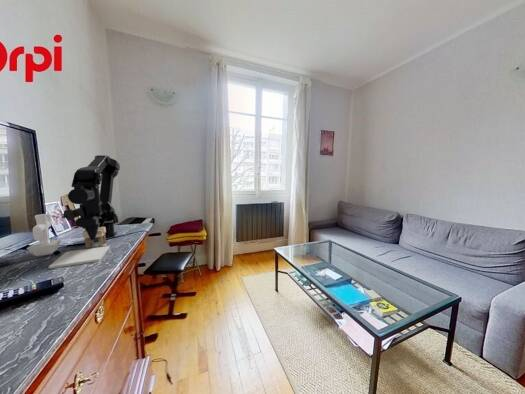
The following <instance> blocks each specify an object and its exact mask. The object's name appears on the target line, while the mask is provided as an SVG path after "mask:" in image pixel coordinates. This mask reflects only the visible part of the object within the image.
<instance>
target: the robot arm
mask: <svg viewBox="0 0 525 394" xmlns="http://www.w3.org/2000/svg"><path fill="white" fill-rule="evenodd" d="M120 169H121V167H120V163H119V162H118V161H117V160H116V159H114V158H111V157H110V156H109V155H102V154H100V155H95V156H94V159H93V160H92V161H91V162H90V163H89V164H88V165H87V166H84V167H80V168H77V169H76V170H75V172H74V174H73V178H72V182H71V187H72V188H73V189H71V190H70V191H69V192H68V194H67V198H68V201H69V202H70V203H72V204H74V205H79V207H78V208H74V209H72V208H68V209H65V210H64V211H63V214H62V218H63V219H66V222H69V221H71V220H73V219H75V218H76V219H75V220H74V227H75V228H78V227H79V228H82V229H84V231H85V230H86V231H87V233H88V235H89V237H90V239H91V240H93V241H94V240H95V239H98V237H96V234H97V231H98V228H99V227H106V233H105V238H106V239H107V238H114V237H115V236H116V235H117V234H118V232H116V231H115V224H118V223H119V217H118V215H117V213H116V211H115V208H114V207H113V206H112V199H113V198H112V197H113V189H114V179H115V178H116V177H117V176H118V175H119V171H120ZM78 217H79V218H78Z"/></svg>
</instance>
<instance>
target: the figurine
mask: <svg viewBox="0 0 525 394" xmlns="http://www.w3.org/2000/svg"><path fill="white" fill-rule="evenodd" d="M34 219H35V222H36V225H35V226H33V227H32V236H33V240H34V241H35V242H34V243H33V244H32V245H30V246H28V247H27V248H26V250H27V251H29V252H30V253H31V254H32V255H34V256H35V257H38V256H39V257H40V256H46V255H51V254H54V252H56V251H57V250H58V248H59V245H60V243H61V242H62V239H53V240H50V232H49V228H51V227H52V216H51V214H49V213H41V214H36V215H34Z"/></svg>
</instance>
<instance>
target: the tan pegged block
mask: <svg viewBox="0 0 525 394" xmlns="http://www.w3.org/2000/svg"><path fill="white" fill-rule="evenodd" d="M105 233H106V227H99V228H98V231H97V234H96V237H95V238H97V237H98V241H97V242H98V248H99V247H104V244H107V238H105ZM82 238H83V239H84V243H85V244H84V245H85V249H91V246H94V245H95V243H94V240H91V239H90V237H89V235H88V233H87V231H86V230H85V229H84V231H82Z"/></svg>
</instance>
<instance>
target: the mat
mask: <svg viewBox="0 0 525 394" xmlns="http://www.w3.org/2000/svg"><path fill="white" fill-rule="evenodd" d="M109 249H110V246H108V245H107V246H103V247H99V246H98V247H92V248H91V247H90V248H89V249H86V248H85V249H76V250H70V251H69V250H68V251H66V252H64V253H63V254H62V255H61V256H60V257H59V258H57V259H56V260H54V262H52V263H51V264H50V265H49V266H48V269H49V270H50V269H56V268H64V267H70V266H76V265H77V266H78V265H81V264H82V265H83V264H89V263H90V264H91V263H96V262H100V261H101V260H102V258H103V257H104V256H105V254H107V252H108V251H109Z"/></svg>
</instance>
